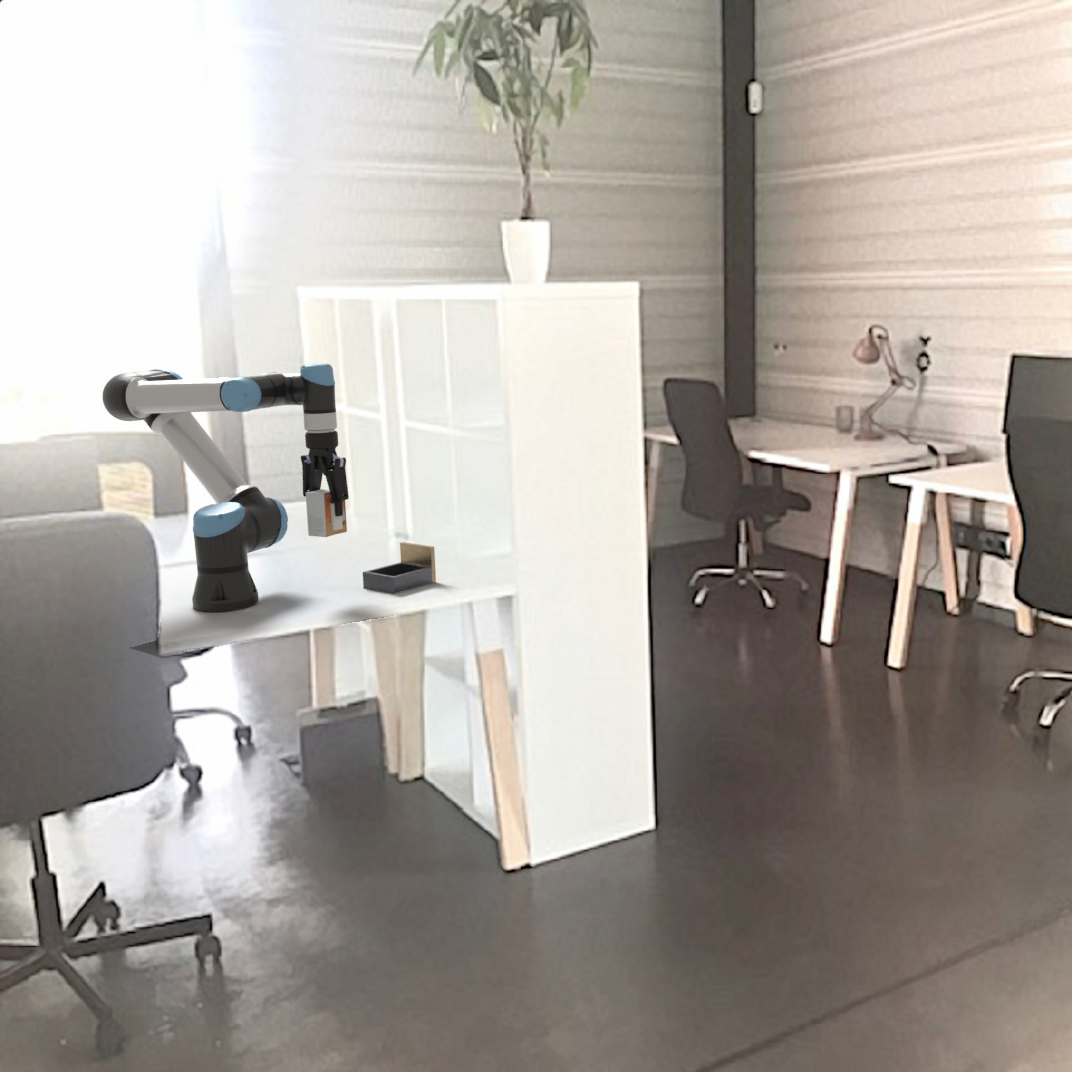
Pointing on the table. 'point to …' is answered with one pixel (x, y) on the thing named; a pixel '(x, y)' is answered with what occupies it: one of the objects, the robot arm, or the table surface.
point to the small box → (322, 514)
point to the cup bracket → (404, 570)
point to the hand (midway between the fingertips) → (327, 527)
